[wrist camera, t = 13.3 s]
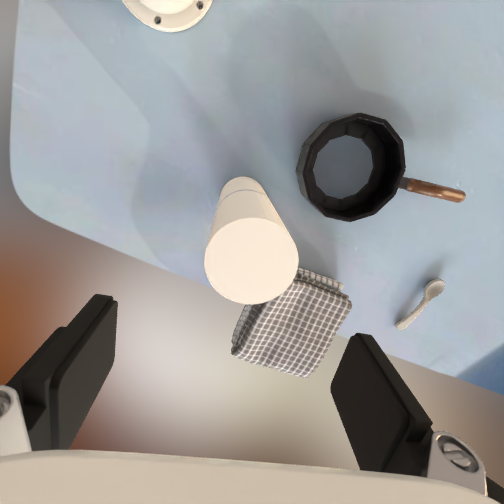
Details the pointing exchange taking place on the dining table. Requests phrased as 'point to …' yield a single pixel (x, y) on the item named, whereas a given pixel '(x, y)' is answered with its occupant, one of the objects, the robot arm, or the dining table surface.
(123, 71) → the dining table surface
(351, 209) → the pan
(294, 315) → the towel
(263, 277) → the cylindrical container
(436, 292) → the spoon
